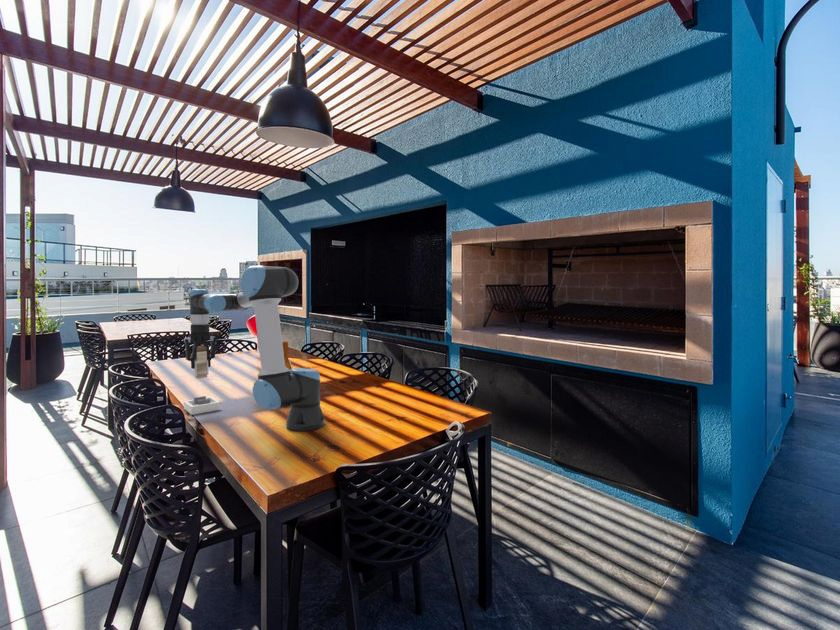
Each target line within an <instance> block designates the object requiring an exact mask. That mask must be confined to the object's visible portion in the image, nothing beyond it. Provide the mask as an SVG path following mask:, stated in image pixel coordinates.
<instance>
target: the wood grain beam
mask: <svg viewBox="0 0 840 630" xmlns="http://www.w3.org/2000/svg"><path fill="white" fill-rule="evenodd" d="M196 352H197V353H196V358H195V361H197V376H194V378H196V379H197V380H198V379H207V378H208V375H207V347H204V346H203V345H198V347H196Z"/></svg>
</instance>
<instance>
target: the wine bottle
mask: <svg viewBox="0 0 840 630" xmlns="http://www.w3.org/2000/svg"><path fill="white" fill-rule="evenodd" d="M282 343H283V352H284V360H285V366H286V367H287V368H288V369H289V370H291V369H293V365H292V362H291V360H289V355H288V351H289V342H288V341H282Z"/></svg>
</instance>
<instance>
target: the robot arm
mask: <svg viewBox="0 0 840 630" xmlns="http://www.w3.org/2000/svg"><path fill="white" fill-rule="evenodd" d="M298 287H299V277H298V275H297V274H296V273H295V271H294V270H292V269H291V268H288V267H285V266H271V265H270V266H269V265H251V266H248V267H247V268H246V269H245V270H244V271H243V273H242V275H241V279H240V287H239V288H240V291H241V292H238V293H227V294H226V293H223V294H221V293H209V289H206V288H205V289H202V288H200V289H191V290H190V291H189V297H188V298H189V313H190V315H189V317H190V318H189V319H190V321H189V322H190V335H189V336H188V337H186V338H183V339H182V340H183V342H184V346H185V347H184V349H185V359H186V360H187V361H189V362H190V368H191V369H193V376H194V377H195V376H197V361H195V358H196V353H197V352H196V347H198V346H200V345H202V346H204V347H207V376H208V375H209V374H210V373H209V368H210V367H211V361H212V359H215V358H216V341H217V340H218V339H217V336H215V335H214V336H213V335H211V333H210V324H209V323H210V312H211V313H219V312H230V311H248V310H251V309H252V307H253V310H254V317H255V324H256V325H255V326H256V334H257V343H258V351H259V359H260V368H261V369H260V371H259V372H258V374H257V378H258V379H257V380H256V381H255V382H254V383H253V386H252V395H253V397H254V398H253V399H254V401H255V402H256V404H257V405H258V406H259V407H260V408H261V409H263V410H268V411H269V410H277V409H280V408H281V407H286V406H290V407H289V408H290V409H289V411H288V414H287V417H286V421H285V428H287V429H288V430H291V431H296V432H308V431H314V430H317V429H320V428H322V427H324V425H325V423H326V422H325V419H326V418H325V416H324V414H323V411H322V410H323V409H322V408H321V375H320V371H318V370H316V369H311V368H302V367H301V368H298V367H295V368H292V369H291V370H289V369H288V368H287V367H286V366H285V360H284V352H283V343H282V342H283V336H282V335H283V334H282V329H281V327H282V326H281V318H280V311H279V303H280V302H281V301H282V298H285V297H289V296H291V295H293V294H294V293H295V292H296V291H297V290H298ZM191 341H192V342H193V343H192V344H193V345H192V350H191V345H190V344H191V343H190V342H191ZM209 341H210V349H209V347H208V346H209V345H208V342H209Z"/></svg>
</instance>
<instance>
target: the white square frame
mask: <svg viewBox="0 0 840 630" xmlns="http://www.w3.org/2000/svg"><path fill="white" fill-rule="evenodd" d="M183 409H184V411H186V412H187V413H189V415H191V416H192V415H193V416H194V415H198V414H204V413H209V412H214V411H220V410H221V401H219V399H216V398H215V397H213V396H208V397H207V396H206V395H204V396H196V397H193V399H190V400H189V399H188V400H184V401H183Z"/></svg>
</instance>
